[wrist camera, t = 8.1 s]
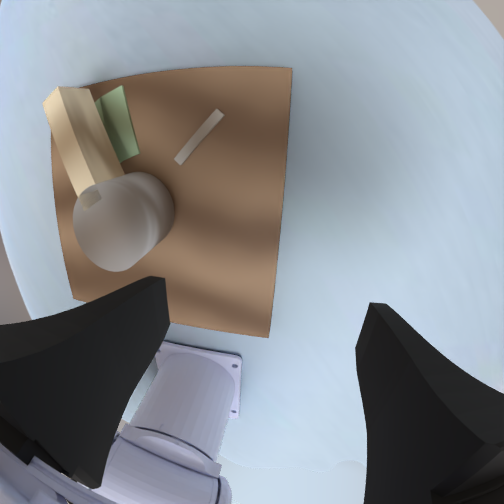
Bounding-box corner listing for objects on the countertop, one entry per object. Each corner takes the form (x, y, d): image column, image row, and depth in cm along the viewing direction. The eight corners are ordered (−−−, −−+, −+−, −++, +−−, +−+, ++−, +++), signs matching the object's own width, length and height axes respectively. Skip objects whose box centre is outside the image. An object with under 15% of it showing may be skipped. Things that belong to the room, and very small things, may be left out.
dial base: (269, 329, 21) (268, 339, 20) (79, 293, 23) (72, 299, 22) (291, 71, 14) (291, 67, 13) (60, 95, 16) (50, 95, 15)
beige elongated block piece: (187, 229, 18) (160, 254, 14) (131, 255, 19) (99, 281, 15) (116, 75, 14) (76, 67, 10) (68, 117, 16) (28, 119, 12)
